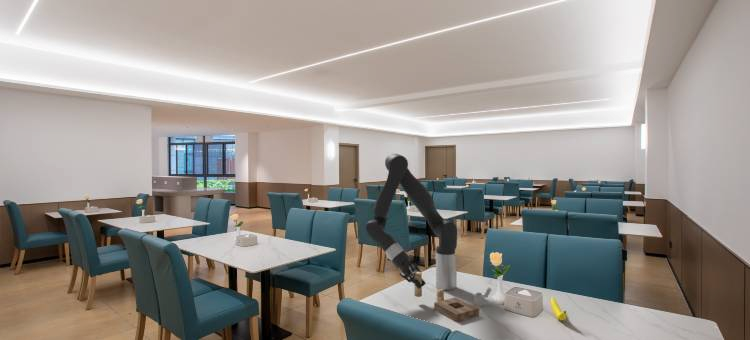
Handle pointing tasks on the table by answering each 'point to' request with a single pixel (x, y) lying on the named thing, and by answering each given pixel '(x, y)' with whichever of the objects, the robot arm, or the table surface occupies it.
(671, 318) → the table surface
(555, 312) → the banana
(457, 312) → the hole plate
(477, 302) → the lighter
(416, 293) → the long pin
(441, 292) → the short pin
